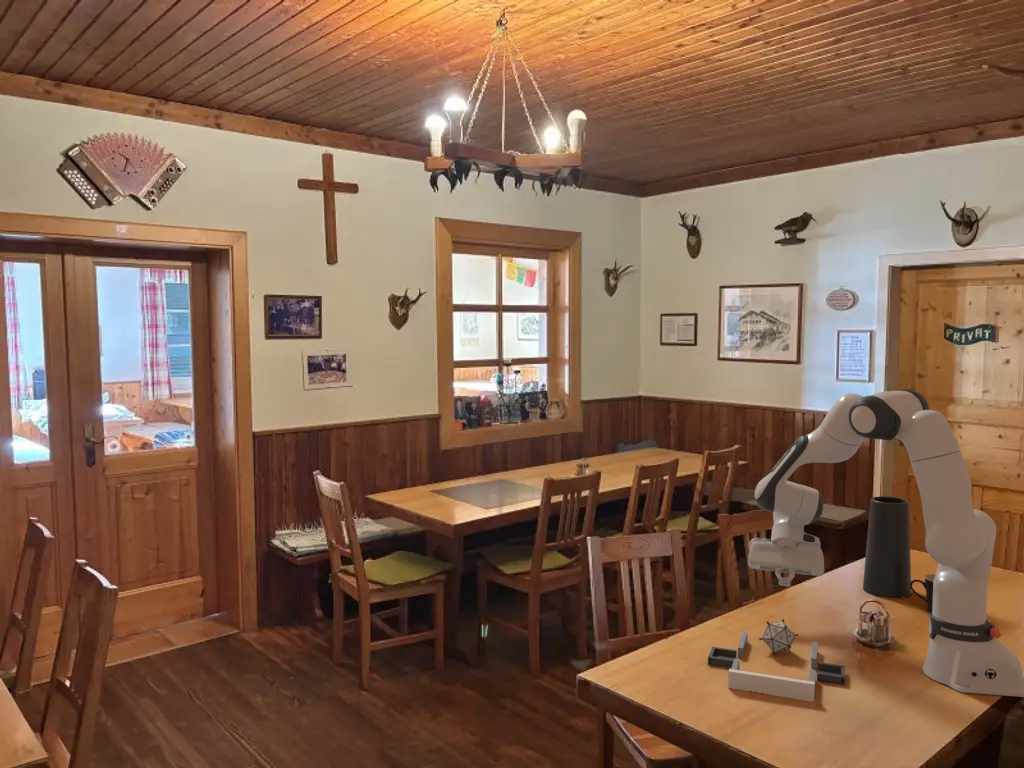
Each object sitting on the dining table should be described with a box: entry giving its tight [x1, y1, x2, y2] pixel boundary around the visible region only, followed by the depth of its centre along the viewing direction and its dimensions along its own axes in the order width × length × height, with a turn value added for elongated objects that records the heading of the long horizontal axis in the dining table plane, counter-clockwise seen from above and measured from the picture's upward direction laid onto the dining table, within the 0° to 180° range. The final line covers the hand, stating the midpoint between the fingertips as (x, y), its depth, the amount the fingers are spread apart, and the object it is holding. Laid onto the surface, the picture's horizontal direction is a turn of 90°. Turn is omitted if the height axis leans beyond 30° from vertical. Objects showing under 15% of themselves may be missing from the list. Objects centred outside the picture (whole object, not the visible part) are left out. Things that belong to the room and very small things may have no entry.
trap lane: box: [707, 631, 846, 703], centre depth 193 cm, size 31×29×4 cm
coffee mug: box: [910, 573, 936, 614], centre depth 231 cm, size 12×9×10 cm
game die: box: [758, 618, 799, 657], centre depth 203 cm, size 9×8×10 cm
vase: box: [862, 495, 912, 599], centre depth 248 cm, size 14×14×29 cm
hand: (784, 584), depth 219 cm, fingers closed
